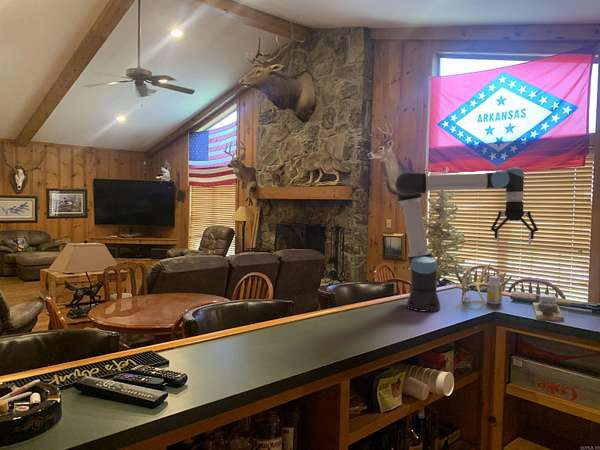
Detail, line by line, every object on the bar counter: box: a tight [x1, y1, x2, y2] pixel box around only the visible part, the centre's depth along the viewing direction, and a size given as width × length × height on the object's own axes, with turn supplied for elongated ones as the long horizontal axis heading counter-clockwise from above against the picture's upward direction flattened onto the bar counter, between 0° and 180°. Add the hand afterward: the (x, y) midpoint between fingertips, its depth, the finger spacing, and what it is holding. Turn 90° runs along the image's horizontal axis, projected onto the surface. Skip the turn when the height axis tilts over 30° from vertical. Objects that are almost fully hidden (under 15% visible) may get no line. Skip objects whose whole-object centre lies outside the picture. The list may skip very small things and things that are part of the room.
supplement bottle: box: [486, 275, 503, 305], centre depth 221 cm, size 7×7×13 cm
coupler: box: [538, 293, 557, 305], centre depth 201 cm, size 6×9×6 cm, turn 156°
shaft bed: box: [532, 294, 565, 322], centre depth 201 cm, size 10×26×6 cm, turn 156°
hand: (513, 245), depth 214 cm, fingers open, 13 cm apart
